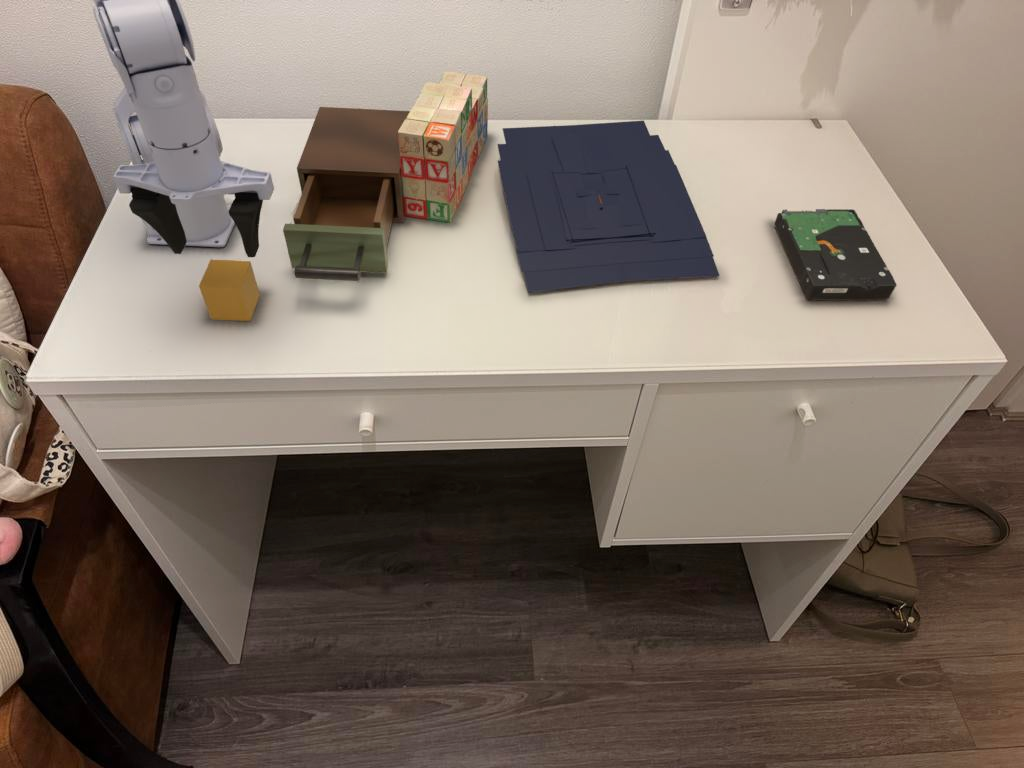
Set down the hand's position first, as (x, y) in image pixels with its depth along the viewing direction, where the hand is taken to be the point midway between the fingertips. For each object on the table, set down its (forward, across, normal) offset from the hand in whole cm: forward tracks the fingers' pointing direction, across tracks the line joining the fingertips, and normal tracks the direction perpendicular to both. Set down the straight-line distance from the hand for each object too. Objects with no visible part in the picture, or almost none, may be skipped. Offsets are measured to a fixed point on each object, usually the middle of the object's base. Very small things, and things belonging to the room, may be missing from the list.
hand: (217, 249), depth 79 cm
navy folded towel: (+8, +42, +21) cm, 48 cm away
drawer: (+7, +11, +10) cm, 17 cm away
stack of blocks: (+8, +22, +28) cm, 37 cm away
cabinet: (+8, +11, +24) cm, 28 cm away
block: (+8, 0, 0) cm, 8 cm away
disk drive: (+8, +71, +13) cm, 73 cm away
